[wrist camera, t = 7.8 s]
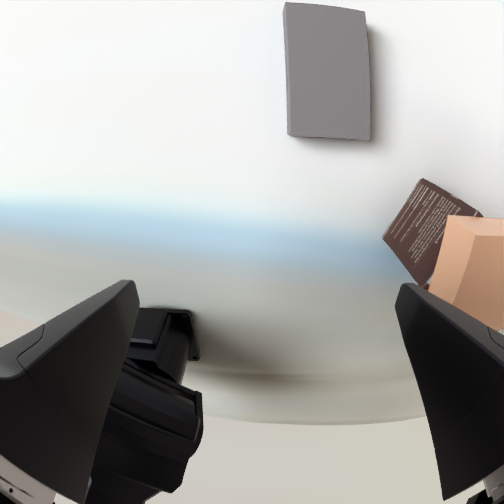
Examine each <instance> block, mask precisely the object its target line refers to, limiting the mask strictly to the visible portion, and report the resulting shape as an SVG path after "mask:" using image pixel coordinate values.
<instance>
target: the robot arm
mask: <svg viewBox="0 0 504 504" xmlns="http://www.w3.org/2000/svg"><path fill="white" fill-rule="evenodd" d="M139 306H140V302H139V297H138V293H137V289H136V285H135V282H134V281H133V280H121V281H119V282H117V283H115V284H113V285H111V286H110V287H108V288H106V289H104V290H102V291H101V292H99V293H97V294H95V295H93V296H92V297H90V298H88V299H86V300H84V301H83V302H81V303H79V304H77V305H76V306H74V307H72V308H70V309H68V310H67V311H65V312H63V313H62V314H60V315H58V316H56V317H55V318H53V319H51V320H49V321H48V322H46V323H45V324H43V325H41V326H39V327H37V328H36V329H34V330H33V331H31V332H29V333H27V334H25V335H23V336H22V337H20V338H18V339H16V340H14V341H12V342H10V343H9V344H6V345H4V346H3V347H1V348H0V504H55V502H53V501H54V497H55V494H56V493H58V494H60V495H62V496H64V497H66V498H68V499H70V500H72V501H74V502H76V503H78V504H145V502H146V501H147V500H148V499H150V498H151V497H153V496H155V495H156V494H158V493H159V492H161V491H164V492H168V493H173V492H174V491H175V490H176V489H177V488H178V487H179V486H180V485H181V484H182V480H183V476H184V472H185V469H186V466H187V463H188V459H189V458H190V457H191V456H192V455H193V454H194V453H195V452H196V450H197V448H198V446H199V444H200V442H201V438H202V435H203V408H202V393H200V392H198V391H193V390H191V389H189V388H186V387H184V386H182V385H181V384H182V380H183V376H184V372H185V368H186V364H187V360H190V361H198V360H199V359H200V352H199V348H198V343H197V339H196V335H195V330H194V326H193V321H192V317H191V313H190V312H189V311H187V310H166V309H145V308H139ZM395 310H396V314H397V317H398V321H399V325H400V329H401V333H402V337H403V340H404V344H405V347H406V350H407V353H408V356H409V359H410V362H411V365H412V368H413V371H414V374H415V377H416V380H417V384H418V387H419V390H420V394H421V397H422V400H423V404H424V408H425V411H426V415H427V419H428V423H429V427H430V431H431V435H432V440H433V444H434V448H435V454H436V459H437V465H438V470H439V475H440V482H441V488H442V497H443V500H444V501H445V500H447V499H449V498H451V497H453V496H455V495H457V494H459V493H461V492H463V491H465V490H467V489H468V488H470V487H472V486H474V485H475V484H477V483H479V482H481V481H482V480H483V482H484V485H485V489H484V490H482V491H481V492H479V493H477V494H476V495H474V496H472V497H471V498H469V499H468V501H467V503H466V504H504V335H502V334H500V333H499V332H497V331H495V330H494V329H492V328H491V327H489V326H486V325H485V324H484V323H482V322H481V321H479V320H477V319H476V318H474V317H472V316H470V315H469V314H467V313H465V312H464V311H462V310H460V309H459V308H457V307H455V306H453V305H452V304H450V303H448V302H446V301H445V300H443V299H441V298H439V297H437V296H436V295H434V294H432V293H430V292H429V291H427V290H425V289H423V288H421V287H419V286H418V285H416V284H414V283H404V284H402V285H401V287H400V291H399V294H398V297H397V300H396V303H395ZM184 315H186V316H187V317H186V316H184Z"/></svg>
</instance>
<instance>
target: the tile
mask: <svg viewBox="0 0 504 504" xmlns="http://www.w3.org/2000/svg"><path fill="white" fill-rule="evenodd" d="M428 291H429V292H430V293H432V294H434V295H436V296H437V297H439V298H441V299H443V300H445V301H446V302H448V303H450V304H452V305H453V306H455V307H457V308H459V309H460V310H462V311H464V312H465V313H467V314H469V315H470V316H472V317H474V318H476V319H477V320H479V321H481V322H482V323H484V324H485V325H486V326H489V327H491V328H492V329H494V330H495V331H497V330H500V329H503V328H504V219H497V218H485V217H471V216H456V215H448V218H447V223H446V228H445V232H444V236H443V240H442V244H441V248H440V252H439V256H438V259H437V263H436V266H435V270H434V273H433V276H432V280H431V283H430V286H429V289H428Z"/></svg>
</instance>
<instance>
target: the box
mask: <svg viewBox="0 0 504 504" xmlns="http://www.w3.org/2000/svg"><path fill="white" fill-rule="evenodd" d="M448 215H456V216H471V217H483V216H482V214H481V213H480V212H479V211H478V210H476V209H474V208H472V207H471V206H469V205H468V204H466V203H465V202H463V201H462V200H460V199H458V198H457V197H455V196H453V195H452V194H450V193H448V192H447V191H445V190H443V189H442V188H440V187H438V186H436V185H434V184H432V183H431V182H429V181H427V180H425V179H423V178H422V179H420V180H419V182H418V183H417V185H416V187H415V188H414V190H413V191H412V193H411V195H410V197H409V198H408V200H407V202H406V203H405V205H404V206H403V208H402V209H401V211H400V212H399V214H398V215H397V217H396V218H395V219H394V221H393V222H392V224H391V225H390V226H389V228H388V229H387V230H386V232H385V234H384V236H383V240H384V241H385V242H386V243H387V244H388V245H389V247H390V248H391V249H392V250H393V252H394V253H395V254H396V256H397V257H398V258H399V260H400V261H401V262H402V263H403V265H404V266H405V267H406V269H407V270H408V271H409V273H410V274H411V275H412V277H413V278H414V279H415V281H416V282H417V284H418V285H419V287H421V288H423V289H425V290H427V291H428V289H429V286H430V283H431V280H432V276H433V273H434V270H435V266H436V263H437V259H438V256H439V252H440V248H441V244H442V240H443V236H444V232H445V228H446V223H447V218H448Z"/></svg>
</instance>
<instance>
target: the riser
mask: <svg viewBox="0 0 504 504" xmlns="http://www.w3.org/2000/svg"><path fill="white" fill-rule="evenodd" d="M283 23H284V41H285V62H286V89H287V134H288V135H289V136H298V137H327V138H344V139H357V140H368V141H370V67H369V50H368V37H367V27H366V18H365V12H364V11H359V10H354V9H348V8H341V7H335V6H327V5H318V4H307V3H290V2H285V5H284V10H283Z"/></svg>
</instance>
